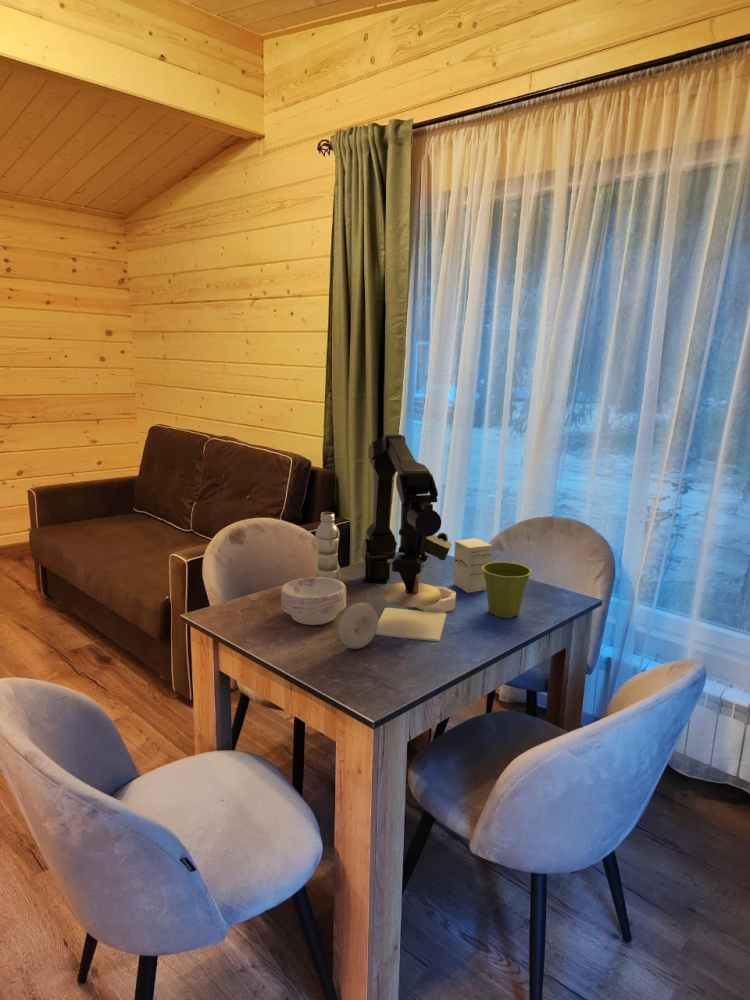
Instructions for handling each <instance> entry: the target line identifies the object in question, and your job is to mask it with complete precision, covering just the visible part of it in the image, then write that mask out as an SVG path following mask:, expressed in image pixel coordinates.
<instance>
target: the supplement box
mask: <svg viewBox="0 0 750 1000" xmlns="http://www.w3.org/2000/svg"><path fill="white" fill-rule="evenodd" d="M492 549H493V546H492V544H490V543H487V542H485V541H484V540H481V539H479V538H477V537H475V538H468V539H467V538H466V539H459V540H455V541H454V556H453V558H454V561H453V574H452V575H453V578H452V579H453V580H452V582H453V583H452V585H454V586H455V587H457V588H459V589H461V590H463V591H465V592H466V593H467V594H469V593H470V592H471V593H476V591H477V592H482V590H483V591H487V588H486V580H485V577H484V571H483V570H482V566H483V565H484V564H487V563H491V562H492Z"/></svg>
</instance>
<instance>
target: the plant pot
mask: <svg viewBox="0 0 750 1000" xmlns="http://www.w3.org/2000/svg"><path fill="white" fill-rule="evenodd" d="M482 570H483V571H484V577H485V580H486V588H487V590H486V597H487V606H488V612H489V613H490V614H491V615H494V616H496V617H499V618H506V619H511V618H515V616H518V615H519V614H520V610H521V606H522V601H523V597H524V595H525V589H526V585H527V583H528V581H529V577H530V576H531V575H532V572H533V570H532V569H531V568H529V566H526V565H523V564H520V563H515V562H509V561H493V562H492V561H491V563H487V564H484V565H483V566H482Z"/></svg>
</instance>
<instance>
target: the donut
mask: <svg viewBox="0 0 750 1000" xmlns="http://www.w3.org/2000/svg"><path fill="white" fill-rule="evenodd" d="M359 620H362V625H361V627H360V629H359V630H358V631H357V632H355V627H356V625H357V622H359ZM378 621H379V616H378V614H377V611H376V610H375V608H374V607H373V606H372V605H371V604H369V603H366V602H356V603H354V604H351V605H350V606H348V608H346V609H345V610H344V612H343V614H342V615H341V617H340V619H339V622H338V628H337V631H338V632H337V633H338V638H339V639H340V641H341V643H342V644H343V645H345V646H346V647H347V648H348V649H352V650H353V649H354V650H357V649H362V648H364V647H366V646H367V645H368V644H369V643H371V642H372V640H373V639H374V637H375V636H376V635H375V633H376V630H377V627H378Z"/></svg>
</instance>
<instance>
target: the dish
mask: <svg viewBox="0 0 750 1000" xmlns="http://www.w3.org/2000/svg"><path fill="white" fill-rule="evenodd" d="M432 586H433V587H435V588H437V589H438V590H439V591H440V600H439V601H438V602H437V603H435V604H432V605H429V606H424V607H416V608H417V609H418V610H420V611H422V610H423V611H428V612H439V613H447V612H450V611H451V612H452V611H454V610H455V608H456V604H457V592H456V591H454V590H452V589H450V588H448V587H446V586H435V585H432Z"/></svg>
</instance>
